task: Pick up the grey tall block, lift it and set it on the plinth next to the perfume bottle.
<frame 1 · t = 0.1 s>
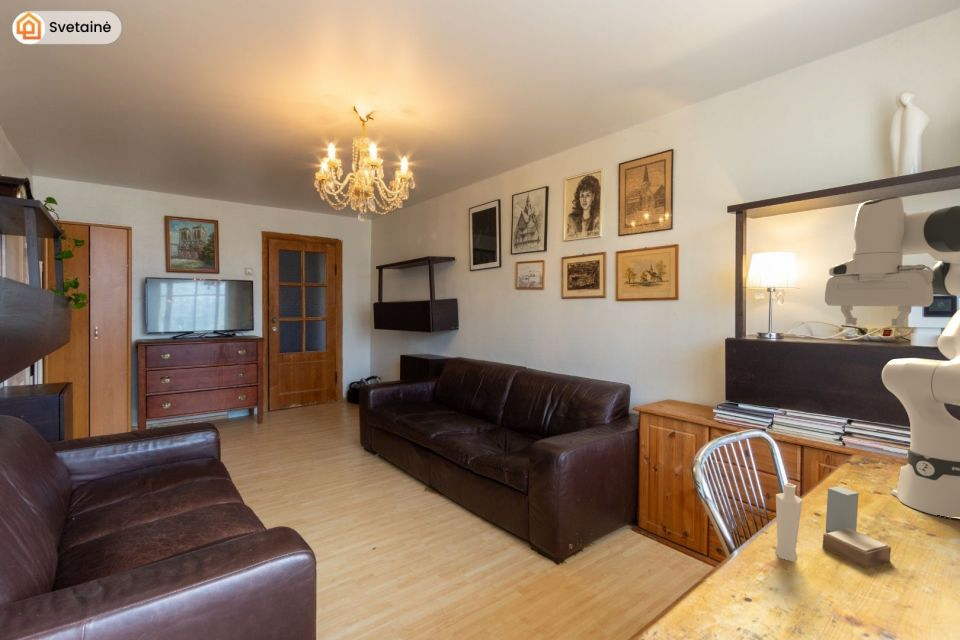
hand: (873, 325, 106), 48 cm above the table, tool pointing down, fingers open, 8 cm apart
plinth: (855, 554, 95), on the table
perfume bottle: (787, 557, 93), on the table
grey tall block: (840, 533, 104), on the table
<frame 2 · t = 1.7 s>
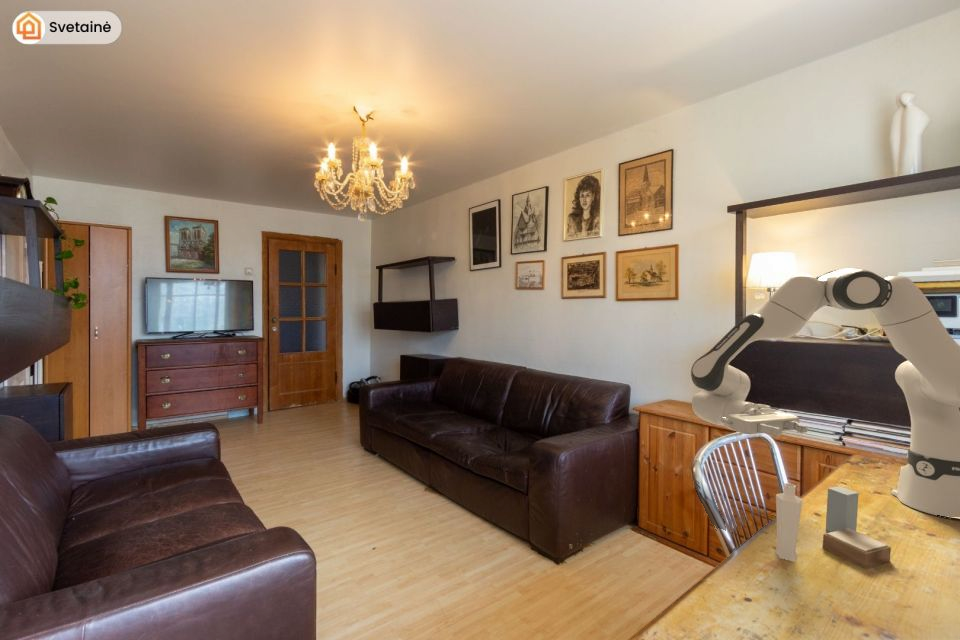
hand: (793, 431, 114), 20 cm above the table, tool horizontal, fingers open, 8 cm apart
nothing on the table moved.
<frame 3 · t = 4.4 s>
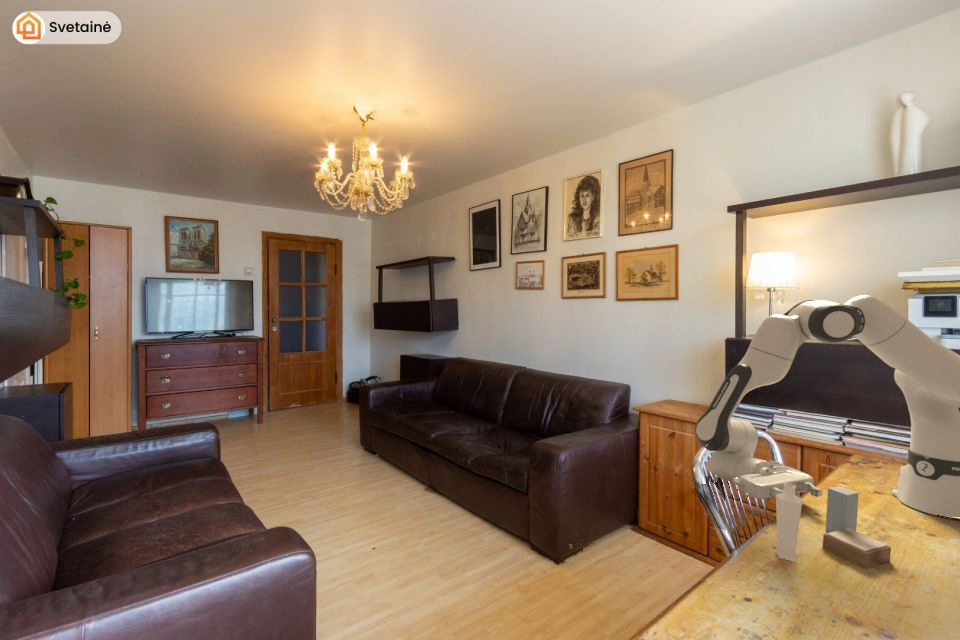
hand: (807, 496, 111), 5 cm above the table, tool horizontal, fingers open, 8 cm apart
nothing on the table moved.
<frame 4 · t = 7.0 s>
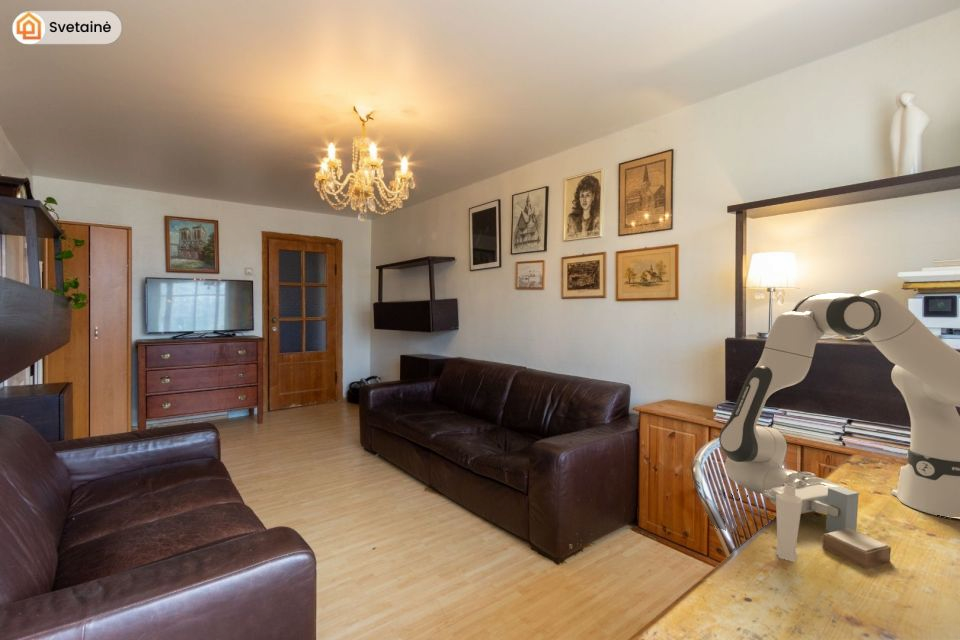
hand: (846, 511, 103), 6 cm above the table, tool horizontal, fingers closed on grey tall block, 4 cm apart
grey tall block: (840, 533, 104), on the table, touching gripper
everything else where it was.
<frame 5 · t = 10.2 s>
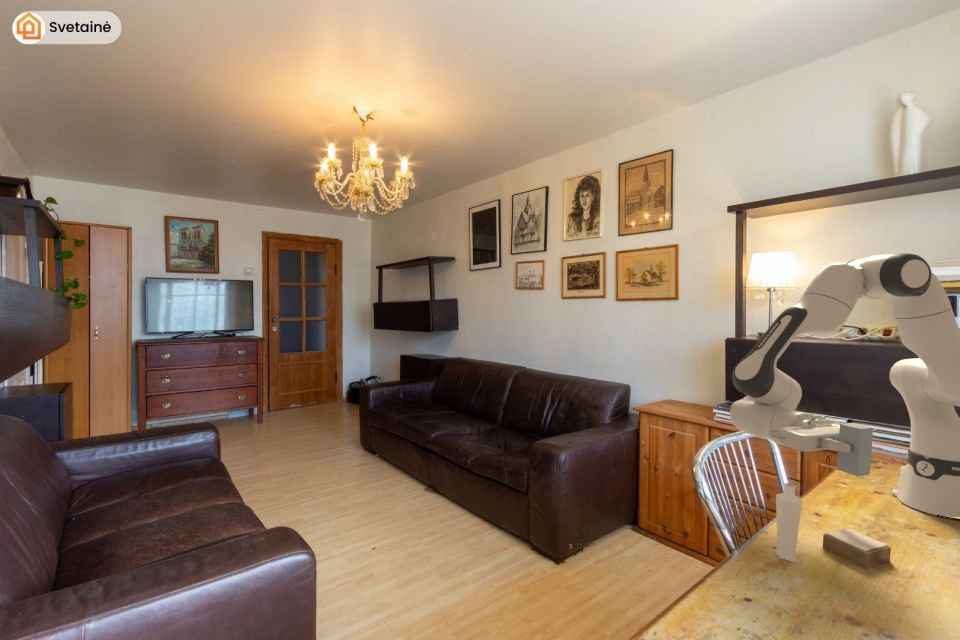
hand: (859, 447, 96), 22 cm above the table, tool horizontal, fingers closed on grey tall block, 4 cm apart
grey tall block: (853, 471, 97), point 17 cm above the table, touching gripper
everything else where it was.
when the fingers open (10 cm above the table, at t = 13.7 s): grey tall block drops 1 cm, resting on plinth.
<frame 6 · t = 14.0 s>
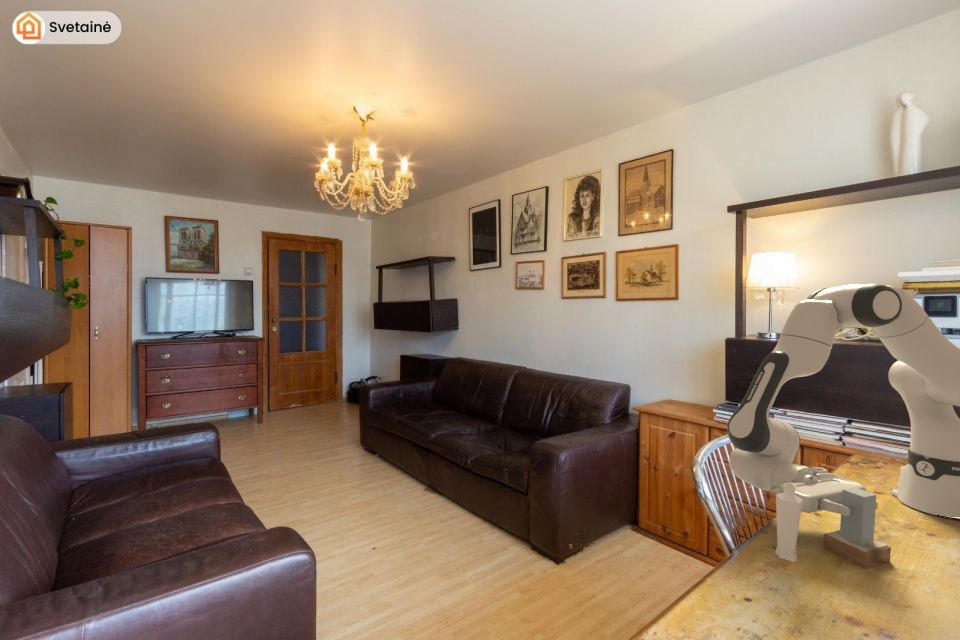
hand: (863, 509, 94), 10 cm above the table, tool horizontal, fingers open, 7 cm apart
grey tall block: (856, 538, 95), point 3 cm above the table, touching plinth
everything else where it was.
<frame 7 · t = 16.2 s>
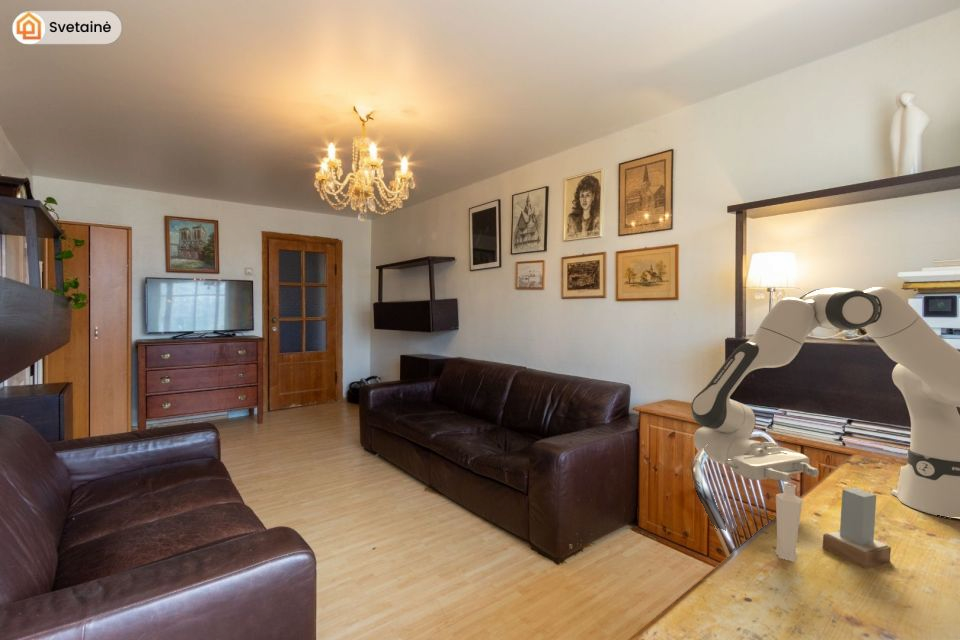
hand: (803, 475, 106), 12 cm above the table, tool horizontal, fingers open, 8 cm apart
nothing on the table moved.
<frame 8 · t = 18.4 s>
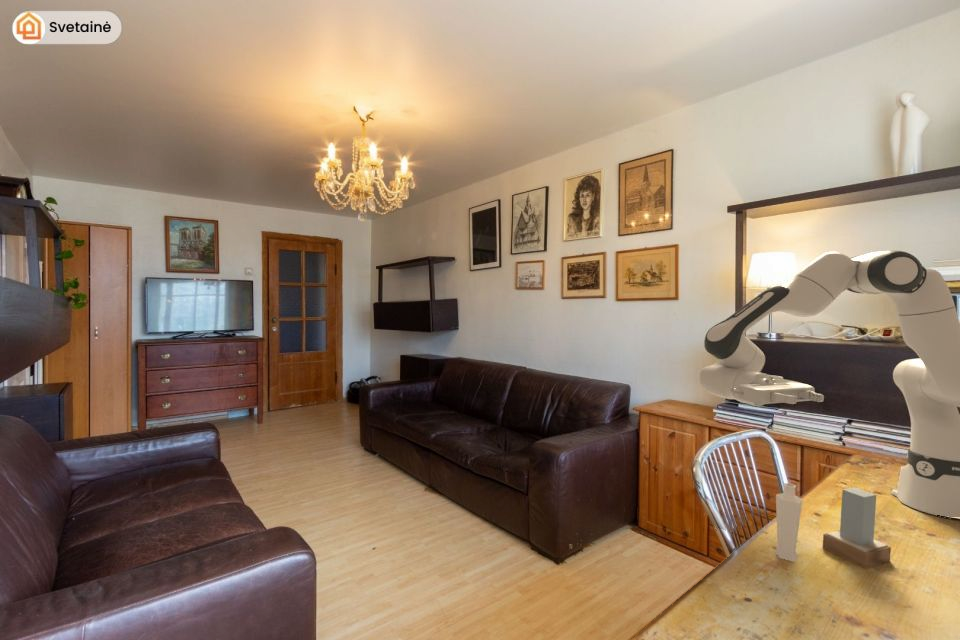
hand: (808, 399, 107), 30 cm above the table, tool horizontal, fingers open, 8 cm apart
nothing on the table moved.
at the end: grey tall block inside the target area on the plinth (0.0 cm from its centre), point 3.3 cm above the plinth's base; grey tall block tilted 0°; the gripper is holding nothing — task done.
